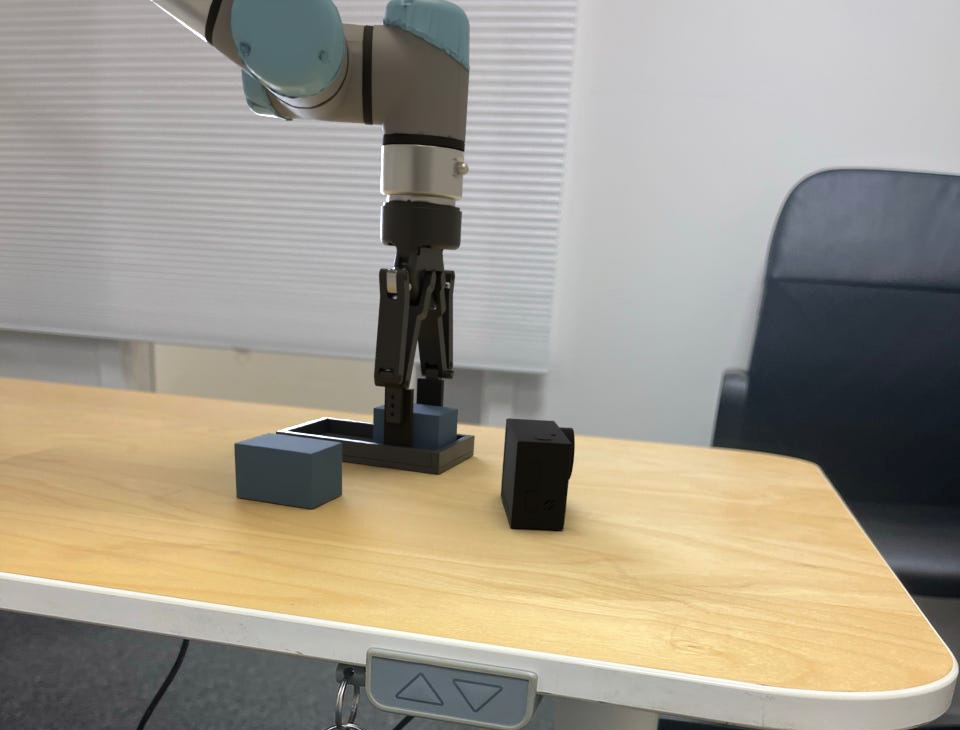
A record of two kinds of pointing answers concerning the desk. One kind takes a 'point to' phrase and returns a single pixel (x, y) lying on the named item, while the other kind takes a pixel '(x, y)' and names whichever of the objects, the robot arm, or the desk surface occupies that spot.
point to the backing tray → (382, 446)
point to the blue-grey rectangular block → (288, 470)
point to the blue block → (424, 426)
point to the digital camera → (536, 473)
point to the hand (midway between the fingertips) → (413, 448)
